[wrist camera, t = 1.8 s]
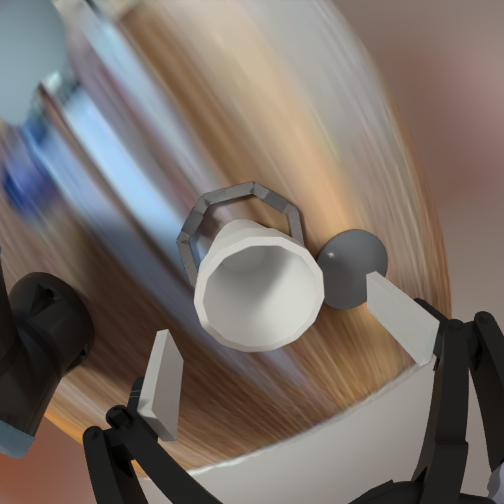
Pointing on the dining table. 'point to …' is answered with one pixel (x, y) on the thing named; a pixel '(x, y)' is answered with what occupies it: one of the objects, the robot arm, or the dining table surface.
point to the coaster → (350, 267)
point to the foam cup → (257, 288)
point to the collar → (226, 194)
